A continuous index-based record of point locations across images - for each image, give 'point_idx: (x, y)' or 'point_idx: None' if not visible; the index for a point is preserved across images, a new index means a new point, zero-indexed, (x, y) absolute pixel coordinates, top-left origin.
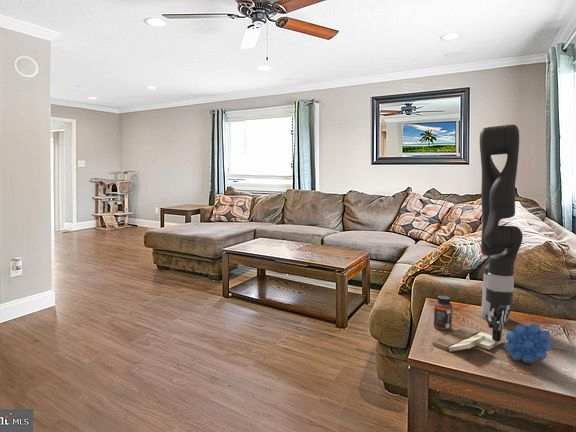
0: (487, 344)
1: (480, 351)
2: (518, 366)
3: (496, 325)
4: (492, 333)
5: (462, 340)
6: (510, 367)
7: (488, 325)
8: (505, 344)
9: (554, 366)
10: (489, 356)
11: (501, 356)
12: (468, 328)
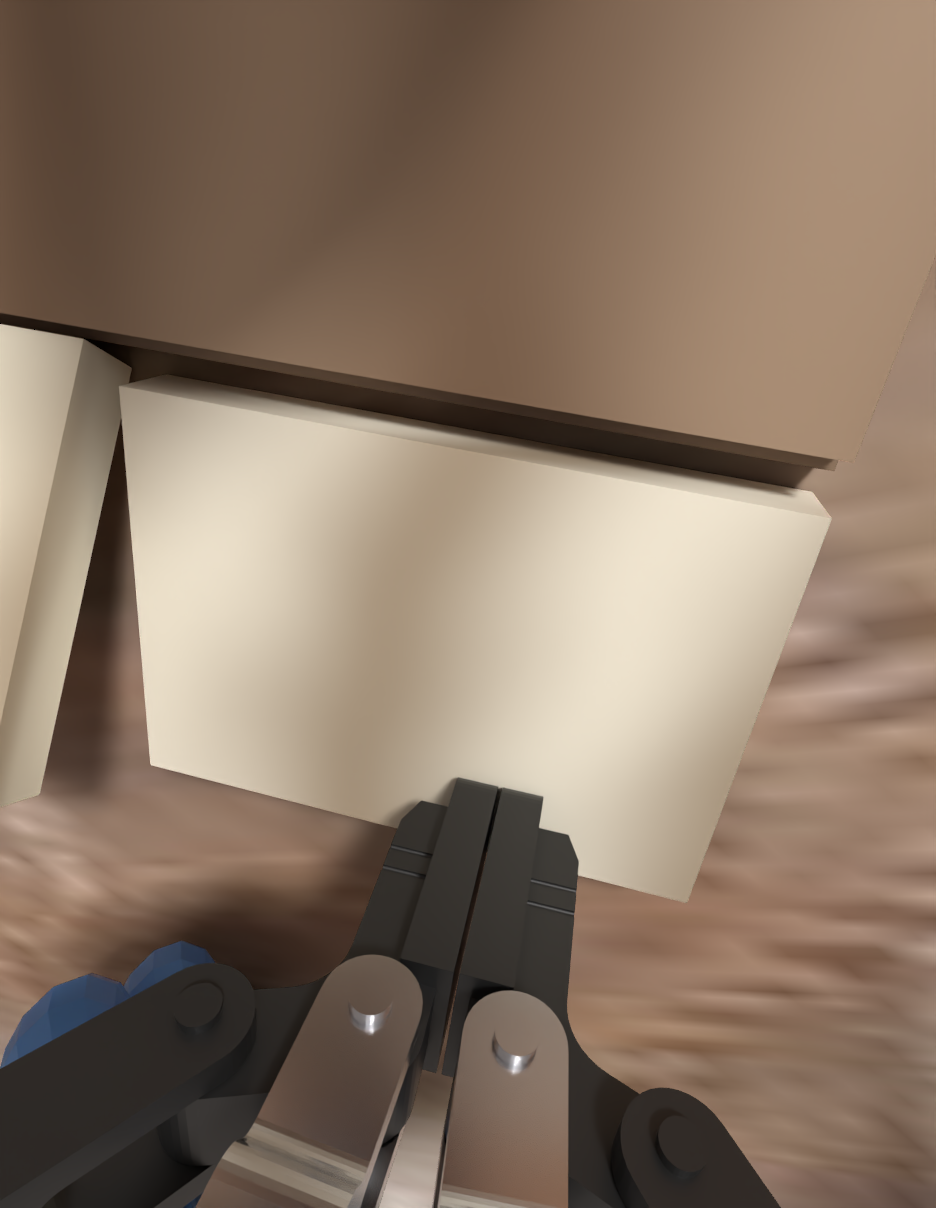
0: (187, 736)
1: (77, 631)
2: (116, 959)
3: (77, 1204)
4: (432, 859)
5: (5, 328)
6: (28, 909)
7: (89, 1020)
8: (10, 1046)
9: (394, 1160)
10: (53, 739)
11: (181, 839)
12: (890, 136)
